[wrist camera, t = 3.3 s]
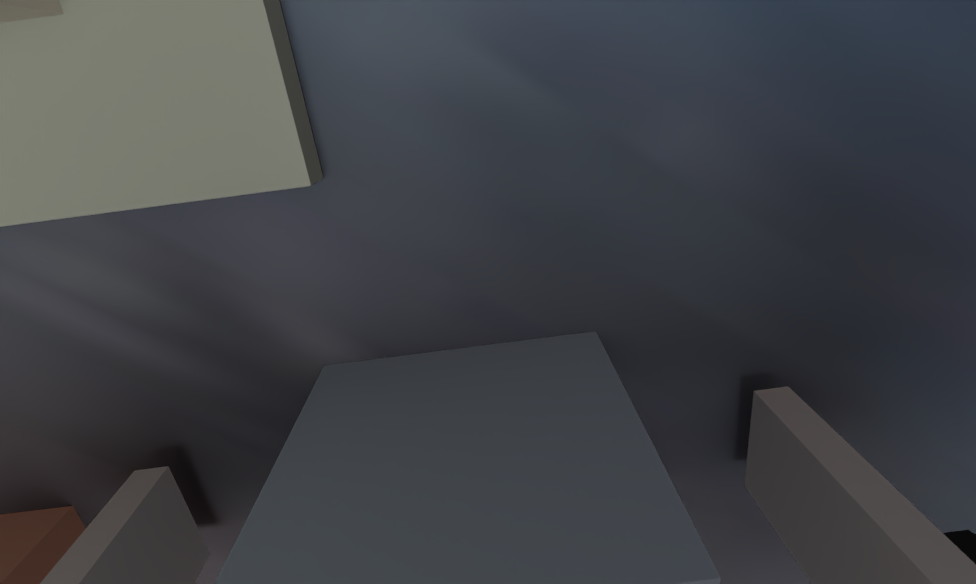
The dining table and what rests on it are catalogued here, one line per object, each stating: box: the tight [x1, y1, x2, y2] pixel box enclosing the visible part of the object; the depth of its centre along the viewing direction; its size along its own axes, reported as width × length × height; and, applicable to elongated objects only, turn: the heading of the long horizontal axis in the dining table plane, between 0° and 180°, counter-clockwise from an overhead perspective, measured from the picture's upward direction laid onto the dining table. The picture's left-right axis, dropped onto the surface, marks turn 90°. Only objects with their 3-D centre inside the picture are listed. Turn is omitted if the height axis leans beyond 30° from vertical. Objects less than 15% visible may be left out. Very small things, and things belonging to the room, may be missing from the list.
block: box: [214, 331, 721, 584], centre depth 10 cm, size 6×6×6 cm
